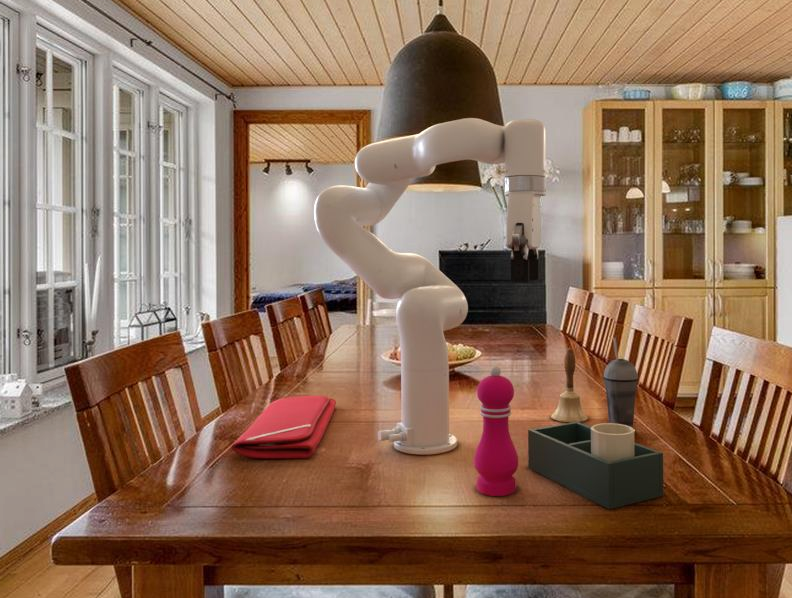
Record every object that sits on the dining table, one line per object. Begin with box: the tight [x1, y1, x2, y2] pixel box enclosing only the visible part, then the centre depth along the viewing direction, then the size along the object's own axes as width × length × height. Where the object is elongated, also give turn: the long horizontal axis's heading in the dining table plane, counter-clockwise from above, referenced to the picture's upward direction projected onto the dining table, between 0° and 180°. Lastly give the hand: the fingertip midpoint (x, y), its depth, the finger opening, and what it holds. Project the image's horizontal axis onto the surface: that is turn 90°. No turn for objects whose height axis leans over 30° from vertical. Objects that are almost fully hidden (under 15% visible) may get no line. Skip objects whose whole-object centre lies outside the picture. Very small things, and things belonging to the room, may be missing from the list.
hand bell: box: [550, 348, 589, 423], centre depth 151 cm, size 8×8×16 cm
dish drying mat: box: [231, 395, 337, 459], centre depth 143 cm, size 16×41×4 cm, turn 4°
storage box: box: [527, 422, 665, 510], centre depth 111 cm, size 11×21×7 cm, turn 28°
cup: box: [591, 422, 636, 462], centre depth 106 cm, size 7×7×9 cm
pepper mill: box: [473, 365, 519, 497], centre depth 107 cm, size 7×7×20 cm
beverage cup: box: [602, 337, 639, 429], centre depth 139 cm, size 7×7×20 cm
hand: (525, 280), depth 121 cm, fingers open, 9 cm apart
